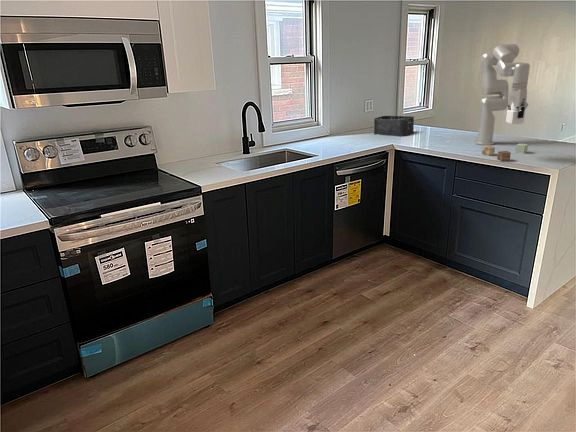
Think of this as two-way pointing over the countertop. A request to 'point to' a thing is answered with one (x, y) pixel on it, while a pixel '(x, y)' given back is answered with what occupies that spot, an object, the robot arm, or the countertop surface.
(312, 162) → the countertop surface
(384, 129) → the storage bin
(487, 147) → the oak cube
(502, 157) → the walnut cube
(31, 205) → the countertop surface
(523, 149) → the sage cube
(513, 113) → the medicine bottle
